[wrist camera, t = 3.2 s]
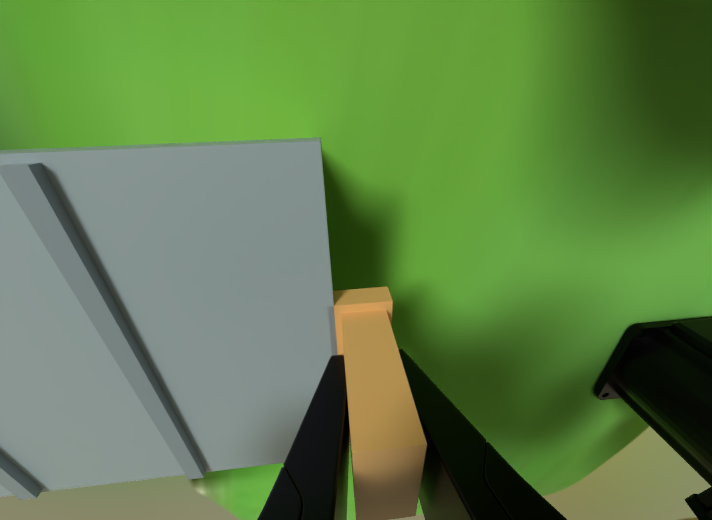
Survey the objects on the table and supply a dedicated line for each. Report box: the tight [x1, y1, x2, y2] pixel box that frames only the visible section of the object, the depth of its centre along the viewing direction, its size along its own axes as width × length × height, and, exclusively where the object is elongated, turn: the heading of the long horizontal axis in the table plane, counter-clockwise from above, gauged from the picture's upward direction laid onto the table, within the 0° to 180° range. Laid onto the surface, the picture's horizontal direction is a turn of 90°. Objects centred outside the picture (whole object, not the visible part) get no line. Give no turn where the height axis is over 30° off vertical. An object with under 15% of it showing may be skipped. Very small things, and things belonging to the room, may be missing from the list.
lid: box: [0, 138, 427, 520], centre depth 7 cm, size 13×21×5 cm, turn 92°
